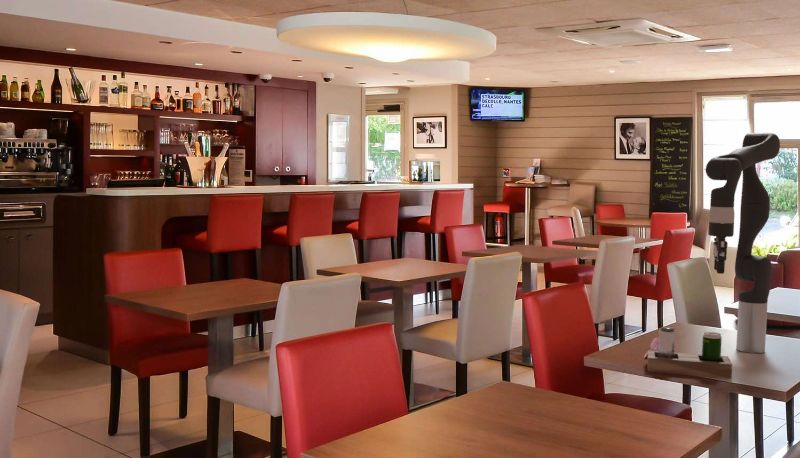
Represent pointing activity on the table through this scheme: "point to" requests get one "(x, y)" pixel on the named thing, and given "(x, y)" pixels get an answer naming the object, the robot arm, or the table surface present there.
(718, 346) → the beer can
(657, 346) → the lily
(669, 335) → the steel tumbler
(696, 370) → the caddy
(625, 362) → the table surface
